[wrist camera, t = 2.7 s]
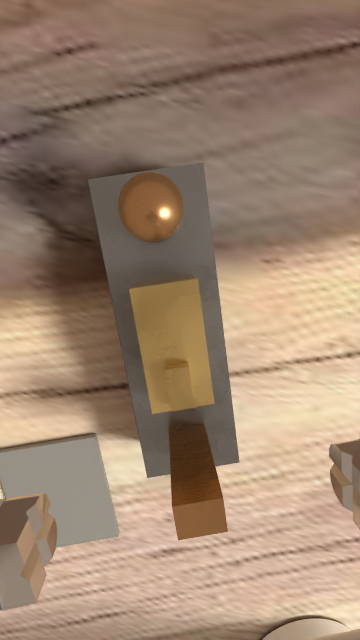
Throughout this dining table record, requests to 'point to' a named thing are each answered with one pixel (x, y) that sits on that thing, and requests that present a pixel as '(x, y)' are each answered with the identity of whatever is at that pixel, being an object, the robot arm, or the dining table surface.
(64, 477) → the mat
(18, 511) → the robot arm
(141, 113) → the dining table surface
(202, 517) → the plane body
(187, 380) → the yellow block
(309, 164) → the dining table surface
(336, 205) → the dining table surface
